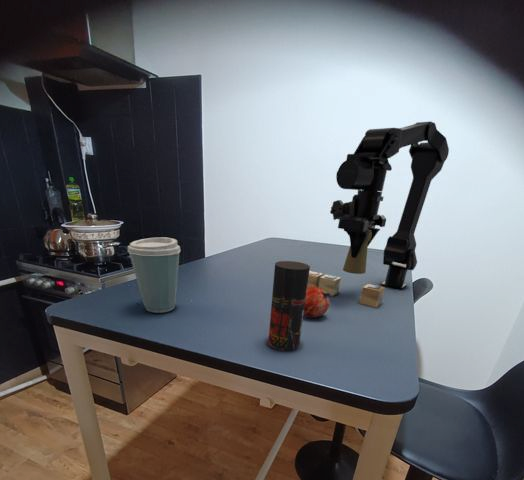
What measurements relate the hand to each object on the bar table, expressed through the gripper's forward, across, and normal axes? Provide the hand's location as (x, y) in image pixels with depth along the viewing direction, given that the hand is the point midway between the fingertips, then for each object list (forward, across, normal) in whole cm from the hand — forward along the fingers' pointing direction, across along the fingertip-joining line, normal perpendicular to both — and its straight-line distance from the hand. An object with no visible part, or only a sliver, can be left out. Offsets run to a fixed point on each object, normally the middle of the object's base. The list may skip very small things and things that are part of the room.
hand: (356, 256), depth 84 cm
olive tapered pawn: (+4, 0, 0) cm, 4 cm away
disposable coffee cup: (+11, +42, -30) cm, 52 cm away
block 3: (+11, 0, +6) cm, 13 cm away
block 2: (+11, +1, -6) cm, 13 cm away
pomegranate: (+11, +21, -2) cm, 24 cm away
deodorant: (+11, +38, +1) cm, 39 cm away
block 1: (+11, +1, -12) cm, 16 cm away
